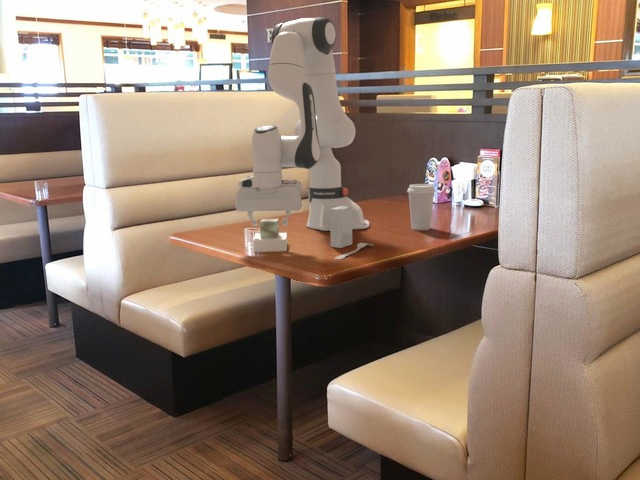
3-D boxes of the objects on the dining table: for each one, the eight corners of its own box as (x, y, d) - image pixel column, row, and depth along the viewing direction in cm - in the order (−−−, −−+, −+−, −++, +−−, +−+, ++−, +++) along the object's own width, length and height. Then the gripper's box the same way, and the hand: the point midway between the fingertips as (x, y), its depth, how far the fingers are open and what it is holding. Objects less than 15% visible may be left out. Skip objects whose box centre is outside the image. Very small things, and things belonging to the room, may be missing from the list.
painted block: (287, 244, 202) (286, 232, 202) (286, 252, 193) (286, 239, 192) (255, 245, 202) (255, 233, 201) (253, 253, 192) (252, 240, 192)
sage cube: (279, 234, 199) (278, 218, 198) (276, 238, 194) (276, 222, 193) (263, 234, 199) (262, 218, 198) (260, 238, 194) (259, 222, 193)
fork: (332, 268, 182) (331, 259, 181) (368, 245, 198) (367, 237, 197) (340, 269, 180) (339, 260, 180) (376, 246, 197) (375, 238, 196)
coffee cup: (438, 226, 222) (438, 184, 219) (430, 232, 214) (431, 187, 211) (411, 225, 226) (411, 183, 223) (403, 230, 218) (403, 186, 215)
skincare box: (342, 243, 201) (341, 205, 198) (353, 245, 198) (352, 206, 195) (329, 246, 196) (328, 208, 194) (341, 248, 194) (340, 209, 191)
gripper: (302, 178, 195) (304, 222, 198) (236, 179, 196) (239, 223, 200) (301, 181, 189) (302, 226, 192) (233, 182, 190) (235, 227, 193)
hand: (269, 225), depth 196 cm, fingers open, 8 cm apart
